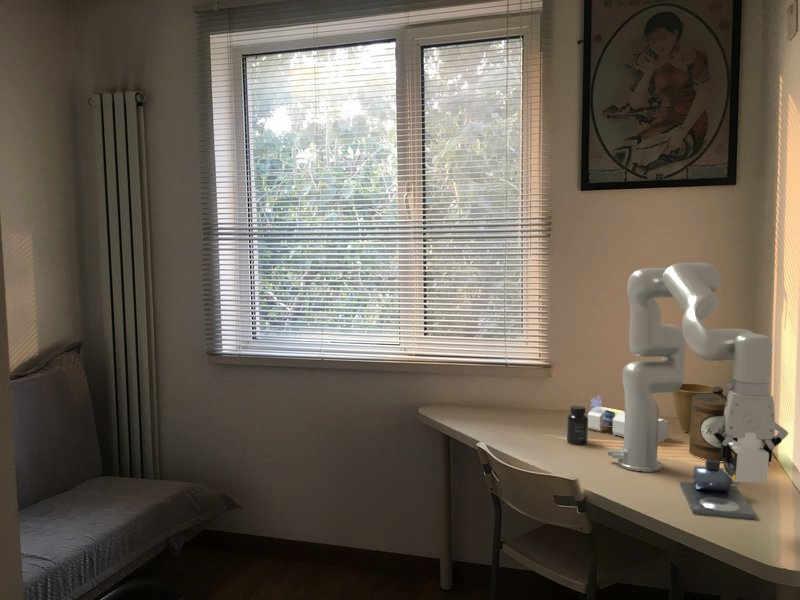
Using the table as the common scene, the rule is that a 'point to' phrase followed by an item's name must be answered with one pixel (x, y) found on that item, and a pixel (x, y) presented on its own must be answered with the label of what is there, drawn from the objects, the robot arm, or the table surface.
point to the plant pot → (687, 401)
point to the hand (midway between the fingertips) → (745, 462)
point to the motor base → (715, 493)
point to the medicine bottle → (747, 460)
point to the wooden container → (706, 424)
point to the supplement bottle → (577, 426)
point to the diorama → (617, 420)
